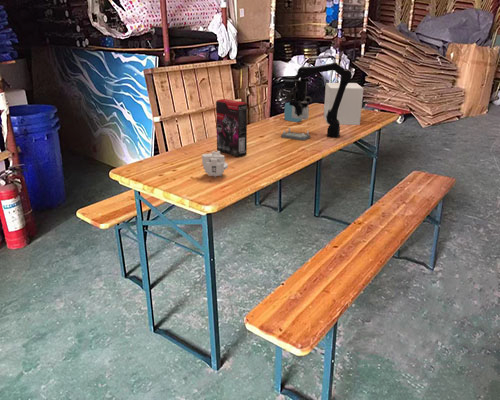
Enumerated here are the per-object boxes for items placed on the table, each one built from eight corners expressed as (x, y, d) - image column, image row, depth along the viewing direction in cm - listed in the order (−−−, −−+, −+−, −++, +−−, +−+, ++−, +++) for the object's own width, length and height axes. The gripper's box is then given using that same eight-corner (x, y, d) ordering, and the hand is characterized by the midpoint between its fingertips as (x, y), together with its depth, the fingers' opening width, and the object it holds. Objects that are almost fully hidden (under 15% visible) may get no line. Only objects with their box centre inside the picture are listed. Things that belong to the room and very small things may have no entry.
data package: (302, 121, 304) (302, 104, 299) (298, 122, 300) (299, 105, 296) (287, 119, 311) (288, 102, 306) (284, 120, 307) (284, 102, 303)
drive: (308, 118, 265) (309, 106, 262) (304, 119, 262) (305, 107, 259) (295, 116, 270) (295, 105, 267) (291, 117, 266) (292, 106, 263)
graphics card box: (215, 151, 236) (214, 100, 225) (225, 148, 240) (224, 98, 230) (238, 157, 225) (238, 104, 214) (247, 155, 230) (248, 102, 219)
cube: (323, 117, 319) (326, 82, 310) (353, 117, 318) (356, 83, 309) (327, 125, 296) (330, 88, 286) (359, 125, 295) (363, 88, 286)
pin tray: (310, 137, 263) (310, 130, 262) (303, 140, 256) (304, 134, 255) (288, 134, 271) (288, 127, 269) (281, 137, 264) (281, 130, 262)
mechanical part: (228, 171, 205) (228, 147, 200) (226, 180, 193) (226, 155, 189) (204, 171, 205) (203, 146, 200) (201, 180, 194) (200, 154, 189)
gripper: (296, 86, 270) (295, 111, 276) (281, 89, 256) (280, 116, 262) (313, 87, 265) (311, 113, 271) (298, 91, 250) (297, 118, 256)
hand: (300, 115), depth 265 cm, fingers closed on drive, 5 cm apart
